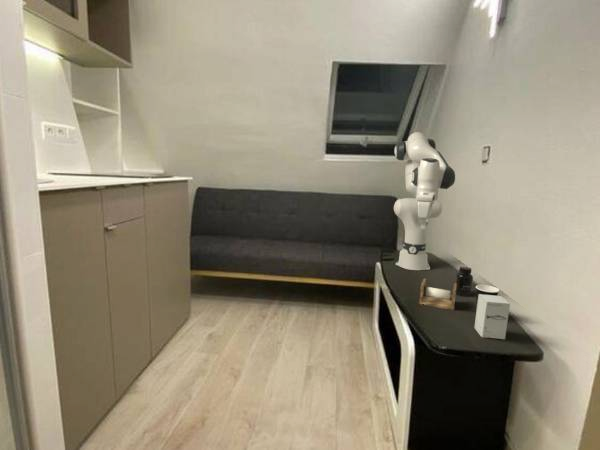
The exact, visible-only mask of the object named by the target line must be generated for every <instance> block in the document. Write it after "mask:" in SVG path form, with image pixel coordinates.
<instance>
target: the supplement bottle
mask: <svg viewBox="0 0 600 450" xmlns="http://www.w3.org/2000/svg"><path fill="white" fill-rule="evenodd" d="M458 271H459V272H457V273H456V275H455V280H454V281H455V282H454V283H457V287H456V295H458V296H460V297H461V296H462V297H469V296H471V295H472V288H473V280H474V277H473V275H472V268H471V267H468V266H459V269H458Z"/></svg>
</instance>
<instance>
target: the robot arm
mask: <svg viewBox="0 0 600 450" xmlns="http://www.w3.org/2000/svg"><path fill="white" fill-rule="evenodd" d="M393 152H394V155H395V158H396V159H397V160H398V161H406V163H405V166H404V167H405V168H404V169H405V170H404V179H405V181H404V182H405V190H406V192H407V193H408V194H411V196H413V198H412V197H406V198H405V197H404V198H399V199H397V200H396V201H395V203H394V205H393V211H394V214H395V215H396V216H397V218H399V219H400V220H401V222H402V224H403V226H404V241H403V244H402V249H401V250H400V251H399V258H398V261H397V262H395V266H399V267H400V268H403V269H405V270H410V271H425V270H428V271H429V270H431V267H430V266H431V265H430V264H429V261H428V254H427V252H426V247H427V246H426V245H427V244H426V237H427V231H426V227H427V226H429V219H434V218H438V217H440V216H441V214H442V211H443V207H442V203H441V202H440V200H439V189H441V190H442V189H443V190H448V189H450V187H452V186H453V185H454V184H455V182H456V173H455V170H454V169H453V168H452V167H451V166H450V165H449V164H448V162H447V161H446V159H445V158H444V156H443V155H442V153H441V152H440V151H439V150H437V144H436V142H435V140H434V139H432V138H427V137H426V135H425V134H424V133H422V132H419V131H417V132H416V131H415V132H413V133H411V134H410V135H409V136H408V138H407V140H405V141H404V140H403V141H400V142H399V141H398V142H397V143H396V145H395V146H394V151H393ZM417 219H418V220H419V219H420V224H419V223H418V222H417Z"/></svg>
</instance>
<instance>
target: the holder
mask: <svg viewBox="0 0 600 450" xmlns="http://www.w3.org/2000/svg"><path fill="white" fill-rule="evenodd" d="M456 287H457V283H455V282H454V283H453V289H452V290H451V294H450V301H449V300H444V299H438V298H432V297H427V296H426V289H427V278H423V280H422V281H421V285H420V291H419V292H420V293H419V303H418V304H419V305H423V304H424V306H430V307H435V308H440V309H445V310H451V311H455V304H456V303H455V302H456V295H457V294H456Z"/></svg>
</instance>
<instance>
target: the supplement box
mask: <svg viewBox="0 0 600 450" xmlns="http://www.w3.org/2000/svg"><path fill="white" fill-rule="evenodd" d="M510 305H511V303H510V302H509V301H508V300H507V299H505V298H504V297H503V296H501V295H498V296H494V295H483V294H479V295H478V303H477V311H476V310H475V311H476V313H475V320H474V329H475V331H476V332H477V333H478V335H479V336H480V337H481V338H488V339H489V338H490V339H498V340H499V339H500V340H506V334H507V329H508V328H507V327H508V321H509V313H510V307H511V306H510Z"/></svg>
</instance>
